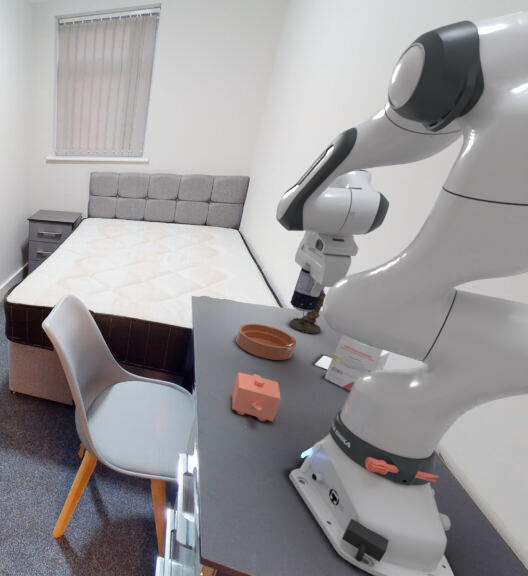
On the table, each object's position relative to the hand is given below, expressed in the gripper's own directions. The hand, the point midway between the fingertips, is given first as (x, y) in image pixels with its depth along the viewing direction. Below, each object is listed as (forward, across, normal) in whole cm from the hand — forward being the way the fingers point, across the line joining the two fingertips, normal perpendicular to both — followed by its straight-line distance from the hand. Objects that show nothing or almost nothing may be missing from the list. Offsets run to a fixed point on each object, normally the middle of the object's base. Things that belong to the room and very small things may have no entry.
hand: (308, 290), depth 95 cm
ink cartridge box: (+22, +7, +12) cm, 26 cm away
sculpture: (+23, -25, +12) cm, 36 cm away
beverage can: (+5, 0, 0) cm, 5 cm away
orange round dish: (+22, -6, -4) cm, 23 cm away
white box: (+22, -2, +13) cm, 26 cm away
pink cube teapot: (+22, +27, -14) cm, 37 cm away
